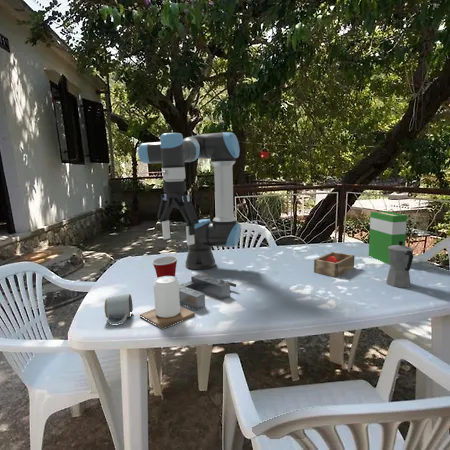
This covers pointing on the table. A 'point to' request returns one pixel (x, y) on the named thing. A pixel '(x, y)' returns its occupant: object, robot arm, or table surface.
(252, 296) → the table surface
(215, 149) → the robot arm
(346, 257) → the crate frame
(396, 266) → the coffeepot
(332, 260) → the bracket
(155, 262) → the plastic cup
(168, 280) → the beverage can
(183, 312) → the pad
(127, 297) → the ceramic mug
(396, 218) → the green cereal box
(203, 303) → the c-clamp
